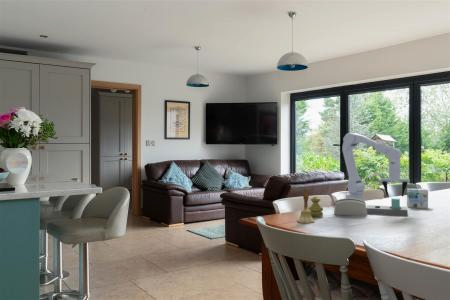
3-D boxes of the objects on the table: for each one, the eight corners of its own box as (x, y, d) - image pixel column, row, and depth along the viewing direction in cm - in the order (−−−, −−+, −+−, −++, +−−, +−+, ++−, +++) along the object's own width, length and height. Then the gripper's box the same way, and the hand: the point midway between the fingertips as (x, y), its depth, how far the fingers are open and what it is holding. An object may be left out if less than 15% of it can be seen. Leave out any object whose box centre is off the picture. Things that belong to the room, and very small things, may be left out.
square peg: (391, 214, 202) (391, 199, 202) (391, 212, 206) (391, 198, 206) (399, 214, 201) (399, 199, 200) (399, 213, 204) (399, 198, 204)
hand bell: (302, 219, 189) (301, 187, 189) (317, 221, 184) (317, 188, 184) (294, 222, 183) (293, 188, 183) (309, 224, 177) (309, 189, 177)
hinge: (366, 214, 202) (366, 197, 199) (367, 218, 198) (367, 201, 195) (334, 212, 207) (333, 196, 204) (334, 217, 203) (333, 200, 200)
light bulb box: (408, 207, 223) (408, 189, 223) (406, 206, 230) (406, 188, 230) (428, 208, 220) (428, 189, 220) (426, 206, 227) (426, 188, 227)
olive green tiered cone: (323, 217, 193) (323, 198, 193) (308, 217, 194) (308, 197, 194) (322, 215, 200) (322, 196, 200) (308, 215, 202) (308, 196, 202)
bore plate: (366, 213, 203) (366, 208, 203) (367, 210, 214) (367, 205, 214) (407, 215, 196) (407, 210, 196) (406, 212, 207) (406, 206, 207)
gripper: (379, 170, 203) (380, 196, 203) (409, 171, 198) (410, 197, 198) (380, 170, 210) (380, 194, 210) (409, 170, 204) (409, 195, 204)
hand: (394, 195), depth 204 cm, fingers open, 7 cm apart
